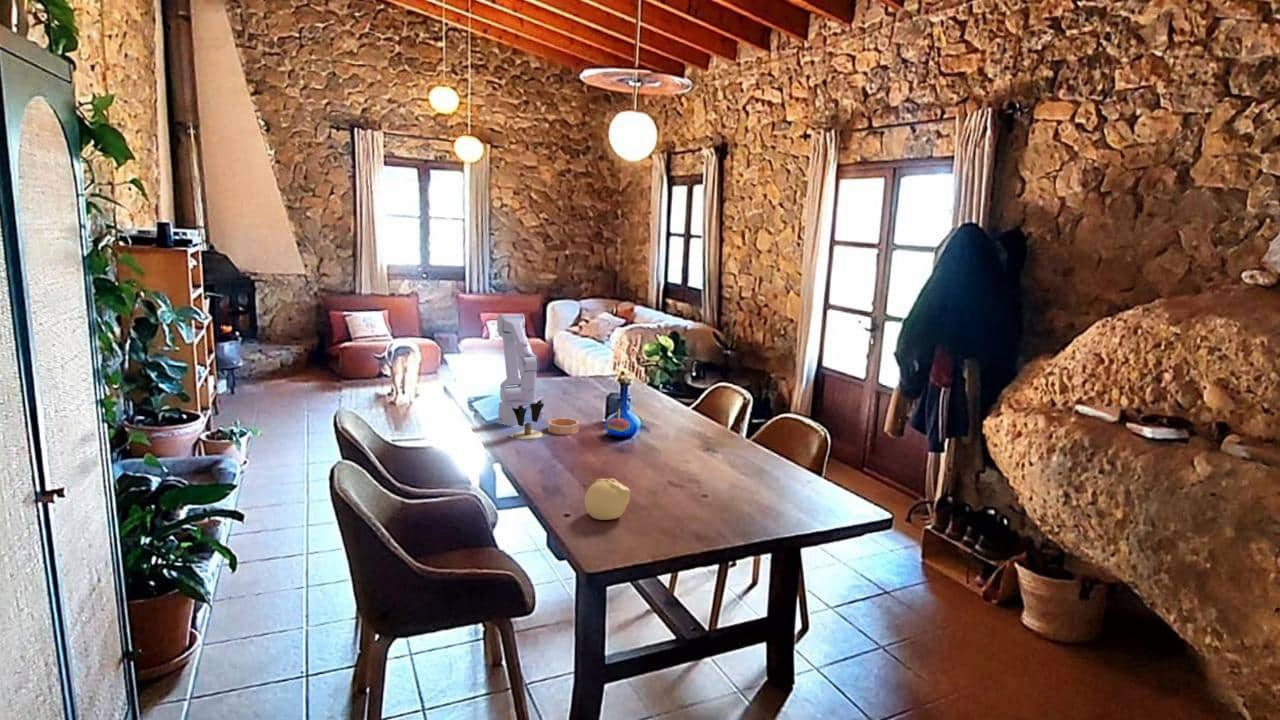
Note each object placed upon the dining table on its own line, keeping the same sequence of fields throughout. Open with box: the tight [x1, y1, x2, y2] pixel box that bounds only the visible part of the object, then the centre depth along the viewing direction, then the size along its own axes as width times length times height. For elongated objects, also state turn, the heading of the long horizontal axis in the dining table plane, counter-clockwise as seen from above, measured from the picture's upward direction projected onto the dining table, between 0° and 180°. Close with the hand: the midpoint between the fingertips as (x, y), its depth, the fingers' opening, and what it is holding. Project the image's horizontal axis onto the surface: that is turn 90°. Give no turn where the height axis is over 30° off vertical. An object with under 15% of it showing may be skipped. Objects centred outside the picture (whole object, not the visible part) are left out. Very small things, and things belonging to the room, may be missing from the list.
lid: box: [512, 422, 542, 441], centre depth 274 cm, size 11×11×5 cm
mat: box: [505, 432, 551, 444], centre depth 275 cm, size 12×12×1 cm
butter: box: [584, 477, 631, 521], centre depth 205 cm, size 11×12×11 cm
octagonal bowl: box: [547, 417, 580, 435], centre depth 284 cm, size 12×12×4 cm
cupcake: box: [607, 407, 631, 432], centre depth 280 cm, size 9×8×12 cm
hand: (527, 423), depth 274 cm, fingers open, 7 cm apart
